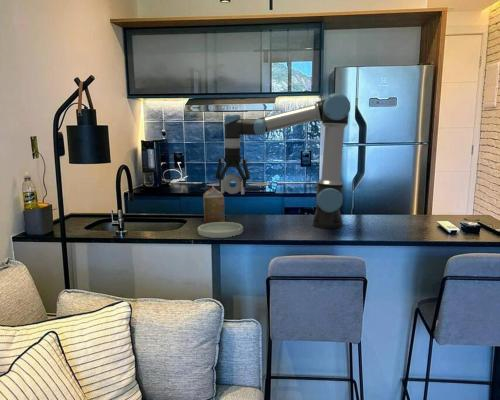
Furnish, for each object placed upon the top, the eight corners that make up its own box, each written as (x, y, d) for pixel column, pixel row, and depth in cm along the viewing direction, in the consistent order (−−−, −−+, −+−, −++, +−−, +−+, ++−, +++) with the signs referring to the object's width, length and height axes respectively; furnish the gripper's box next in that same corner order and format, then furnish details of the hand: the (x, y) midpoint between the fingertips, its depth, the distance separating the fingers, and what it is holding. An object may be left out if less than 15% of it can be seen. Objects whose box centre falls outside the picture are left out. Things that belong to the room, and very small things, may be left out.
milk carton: (224, 222, 228) (223, 187, 225) (205, 223, 226) (203, 188, 223) (223, 218, 238) (222, 184, 235) (204, 219, 237) (202, 185, 233)
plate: (248, 227, 215) (247, 223, 215) (234, 239, 195) (234, 233, 194) (208, 225, 221) (208, 221, 221) (191, 236, 201) (190, 231, 201)
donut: (243, 193, 209) (243, 173, 207) (242, 194, 206) (242, 174, 204) (222, 193, 209) (222, 173, 207) (222, 194, 206) (222, 173, 204)
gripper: (257, 147, 204) (256, 193, 208) (213, 146, 210) (214, 191, 214) (252, 148, 197) (252, 195, 201) (207, 147, 203) (208, 193, 207)
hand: (232, 193), depth 207 cm, fingers closed on donut, 10 cm apart
